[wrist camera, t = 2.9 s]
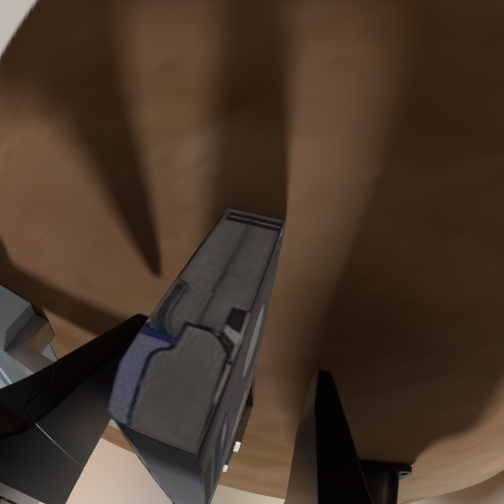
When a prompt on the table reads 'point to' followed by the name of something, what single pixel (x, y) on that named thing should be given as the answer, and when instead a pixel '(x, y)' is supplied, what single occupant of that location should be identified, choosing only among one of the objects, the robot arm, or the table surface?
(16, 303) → the cabinet
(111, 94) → the table surface
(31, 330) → the handrail
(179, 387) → the mini dv tape
